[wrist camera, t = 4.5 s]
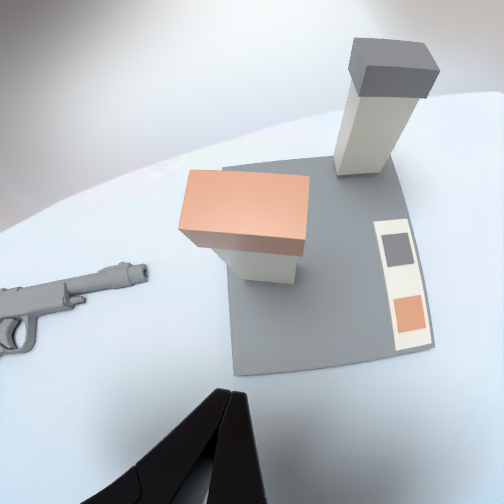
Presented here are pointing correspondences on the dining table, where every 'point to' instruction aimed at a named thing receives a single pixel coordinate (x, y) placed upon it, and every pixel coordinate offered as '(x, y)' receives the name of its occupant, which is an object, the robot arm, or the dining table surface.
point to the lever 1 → (248, 220)
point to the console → (336, 279)
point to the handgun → (56, 299)
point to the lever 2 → (380, 100)
